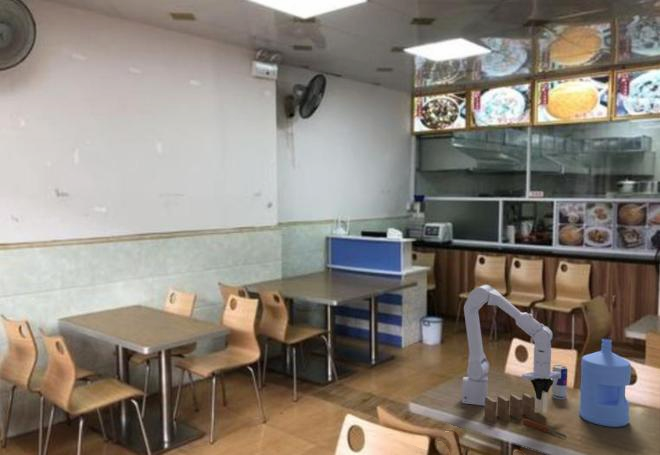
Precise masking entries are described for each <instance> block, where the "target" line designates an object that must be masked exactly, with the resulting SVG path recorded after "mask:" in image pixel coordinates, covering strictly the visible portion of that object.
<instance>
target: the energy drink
mask: <svg viewBox="0 0 660 455" xmlns="http://www.w3.org/2000/svg"><path fill="white" fill-rule="evenodd" d="M557 371H558V372H560V373H561V378H551V380H553V384H552V385H551V397H552V398H553V399H556V400H566V399H567V395H568V392H567V391H568V367H567V366H565V365H561V364H554V365H553V366H552V370H551V372H557Z"/></svg>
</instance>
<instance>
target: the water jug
mask: <svg viewBox="0 0 660 455" xmlns="http://www.w3.org/2000/svg"><path fill="white" fill-rule="evenodd" d="M612 341H613V340H612V339H607V338H601V348H600V349H601V350H599V351H595V352H593V353H588V354H585V355H583V356H582V357H581V363H580V370H581V372H580V377H581V378H580V387H579V388H580V389H579V391H580V396H579V397H580V401H579V411H578V413H579V415H580V417H581V418H582V419H583V420H585V421H587V422H589V423H591V424H595V425H598V426H602V427H610V428H619V427H624V426H627V425H628V424H629V422H630V402H629V400H628V399H627V398H626V387H627V386H629V385H630V384H631V376H632V368H631V367H632V364H631V362H630V361H629V360H627V359H625V358H623V357H621V356H620V355H619V354H616V353H614V352H612V346H613V345H612Z"/></svg>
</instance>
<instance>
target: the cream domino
mask: <svg viewBox="0 0 660 455" xmlns="http://www.w3.org/2000/svg"><path fill="white" fill-rule="evenodd" d="M534 398H535V409H536V410H538V411H540V412H541V413H544V414H545V413H548V393H547V392H545V391H542V396H541V400H539V399H537V398H536V393H535V392H534Z"/></svg>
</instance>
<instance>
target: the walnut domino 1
mask: <svg viewBox="0 0 660 455" xmlns="http://www.w3.org/2000/svg"><path fill="white" fill-rule="evenodd" d="M497 404H498V400H495V399H494V398H492V397H490V396H488V397H485V406H484V417H485V418H486V419H487V420H488V421H490V422H491V423H495V422H496V423H497Z"/></svg>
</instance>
